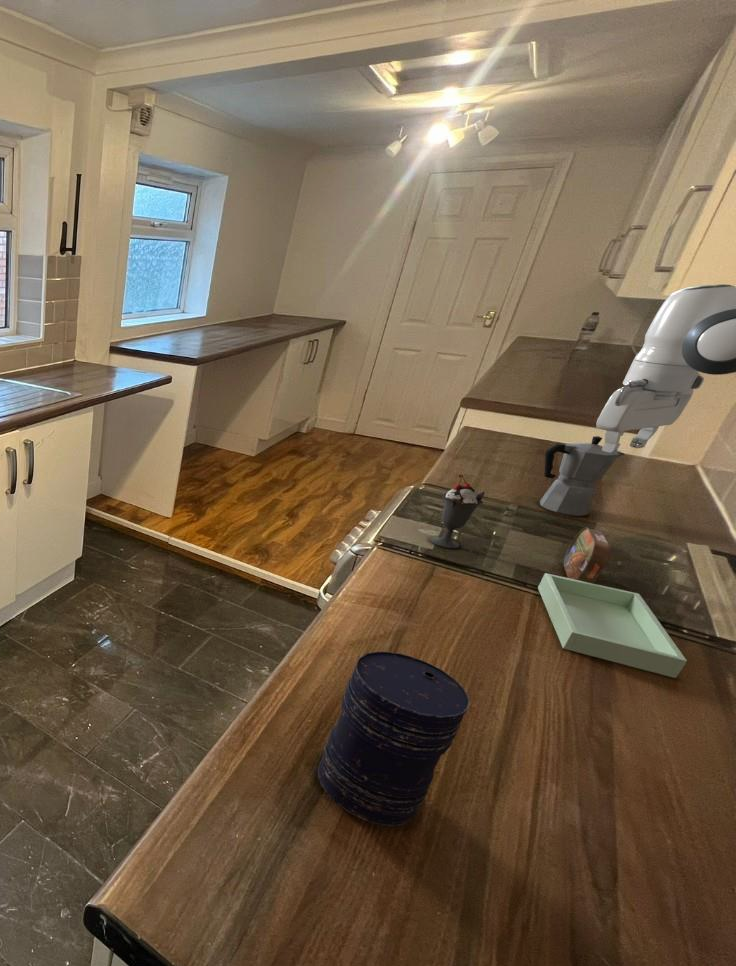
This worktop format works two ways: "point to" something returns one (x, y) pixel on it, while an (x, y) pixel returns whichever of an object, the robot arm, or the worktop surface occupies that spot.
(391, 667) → the navy ribbed drum
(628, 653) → the tray
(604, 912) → the worktop surface
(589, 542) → the tin
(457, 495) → the sundae
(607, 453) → the coffeepot
